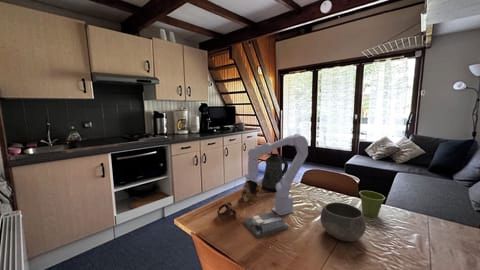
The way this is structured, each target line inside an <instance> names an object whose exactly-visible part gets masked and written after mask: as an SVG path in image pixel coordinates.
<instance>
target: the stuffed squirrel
mask: <svg viewBox="0 0 480 270" xmlns="http://www.w3.org/2000/svg"><path fill="white" fill-rule="evenodd" d="M247 181H248V180H247V179H245V182H244V185H243V186H242V189H243V190H241V192H240V194H241V197H239V198H238V199H237V202H245V203H248V205H250V206H252V205H253V204H255V202H256V198H257V196H258V194H259V192H260V191H261V188H262V185H258V186H257V188H256V191H255V194H251V193H250V188H249V185H248V183H247Z"/></svg>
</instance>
